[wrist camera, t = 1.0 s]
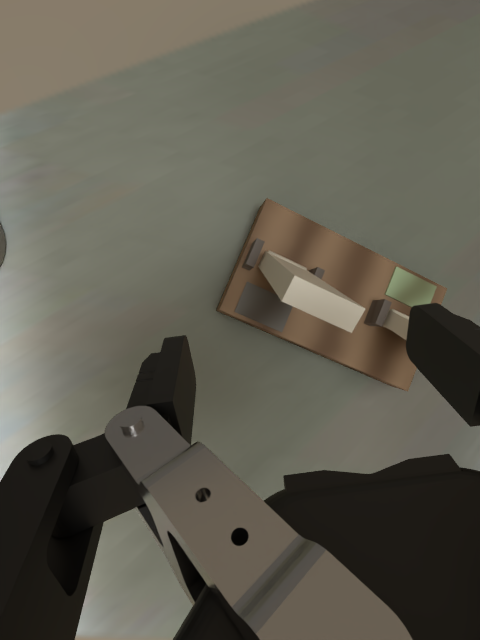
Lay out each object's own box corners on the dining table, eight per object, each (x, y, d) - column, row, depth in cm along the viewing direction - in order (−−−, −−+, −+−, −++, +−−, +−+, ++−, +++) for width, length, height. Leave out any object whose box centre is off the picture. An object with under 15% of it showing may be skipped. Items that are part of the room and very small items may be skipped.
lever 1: (256, 266, 33) (279, 304, 19) (265, 247, 33) (296, 272, 19) (297, 285, 34) (349, 335, 20) (306, 267, 34) (367, 305, 19)
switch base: (216, 310, 36) (222, 309, 31) (259, 207, 36) (272, 189, 31) (390, 385, 39) (422, 396, 34) (427, 290, 40) (463, 286, 35)
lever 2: (375, 322, 36) (477, 393, 21) (386, 305, 35) (497, 366, 21) (412, 338, 36) (534, 418, 22) (422, 322, 36) (554, 393, 22)
